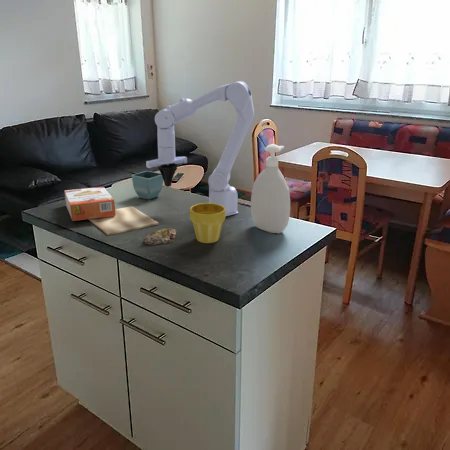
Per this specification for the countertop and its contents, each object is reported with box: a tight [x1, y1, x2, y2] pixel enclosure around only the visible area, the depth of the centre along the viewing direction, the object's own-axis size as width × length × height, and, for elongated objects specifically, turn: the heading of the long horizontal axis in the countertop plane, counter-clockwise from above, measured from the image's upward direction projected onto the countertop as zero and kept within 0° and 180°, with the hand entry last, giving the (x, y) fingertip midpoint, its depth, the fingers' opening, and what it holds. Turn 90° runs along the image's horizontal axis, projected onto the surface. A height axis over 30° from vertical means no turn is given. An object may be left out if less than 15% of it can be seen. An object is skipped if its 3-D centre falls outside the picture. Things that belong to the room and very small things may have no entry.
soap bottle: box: [250, 143, 291, 234], centre depth 139 cm, size 14×8×27 cm, turn 47°
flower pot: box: [131, 170, 164, 200], centre depth 172 cm, size 9×9×9 cm
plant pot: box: [189, 202, 226, 244], centre depth 134 cm, size 10×10×10 cm
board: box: [87, 205, 159, 236], centre depth 150 cm, size 17×20×1 cm
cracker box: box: [64, 186, 116, 222], centre depth 156 cm, size 14×6×21 cm
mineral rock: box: [143, 227, 177, 246], centre depth 135 cm, size 11×4×8 cm
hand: (167, 185), depth 157 cm, fingers closed
